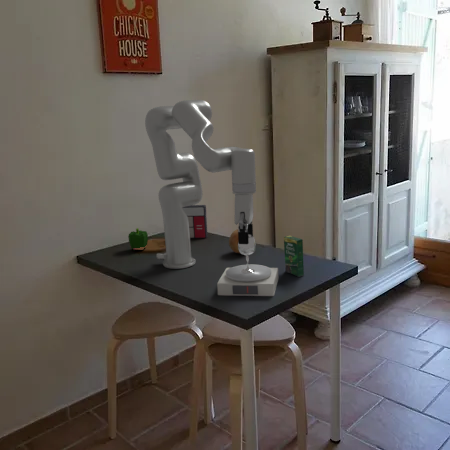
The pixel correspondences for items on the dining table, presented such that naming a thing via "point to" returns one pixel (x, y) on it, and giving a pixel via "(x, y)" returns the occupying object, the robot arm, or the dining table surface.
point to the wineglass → (247, 251)
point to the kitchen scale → (248, 281)
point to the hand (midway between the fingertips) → (245, 239)
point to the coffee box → (294, 255)
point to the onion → (234, 241)
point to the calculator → (196, 220)
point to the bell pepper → (138, 239)
